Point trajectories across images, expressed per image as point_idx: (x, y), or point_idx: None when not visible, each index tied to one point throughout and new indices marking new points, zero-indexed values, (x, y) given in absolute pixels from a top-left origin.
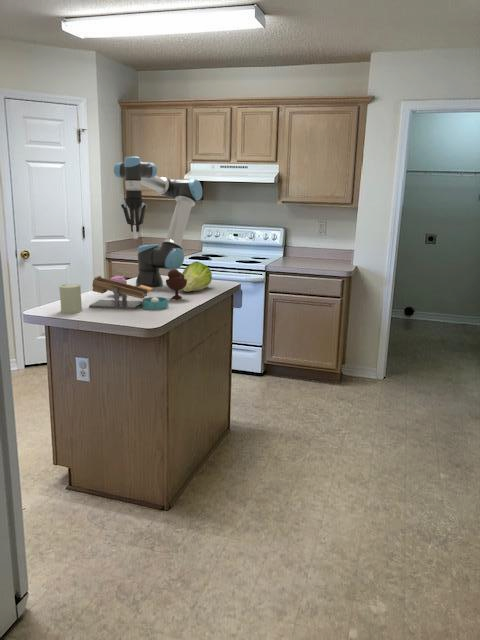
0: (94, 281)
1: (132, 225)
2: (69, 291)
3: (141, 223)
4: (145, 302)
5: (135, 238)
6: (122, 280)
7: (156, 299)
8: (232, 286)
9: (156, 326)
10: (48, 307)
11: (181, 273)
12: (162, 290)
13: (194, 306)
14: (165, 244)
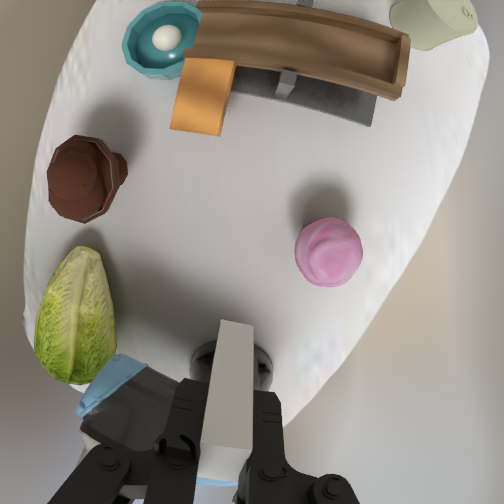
0: (401, 33)
1: (259, 460)
2: None
3: (96, 451)
4: (195, 8)
5: (228, 323)
6: (311, 233)
7: (158, 28)
8: (29, 329)
9: None
10: (473, 84)
11: (49, 194)
12: (177, 300)
13: (66, 70)
14: (127, 444)
